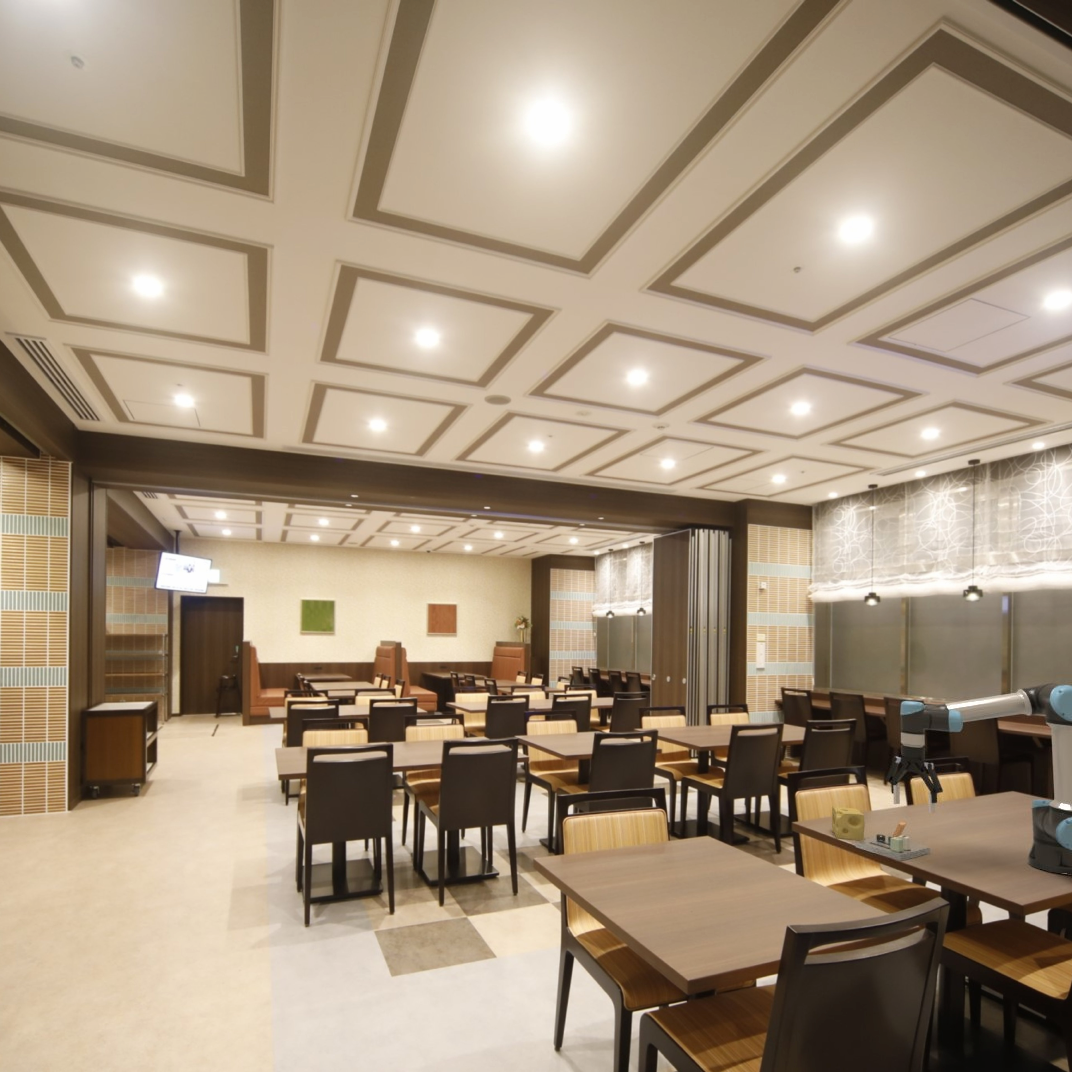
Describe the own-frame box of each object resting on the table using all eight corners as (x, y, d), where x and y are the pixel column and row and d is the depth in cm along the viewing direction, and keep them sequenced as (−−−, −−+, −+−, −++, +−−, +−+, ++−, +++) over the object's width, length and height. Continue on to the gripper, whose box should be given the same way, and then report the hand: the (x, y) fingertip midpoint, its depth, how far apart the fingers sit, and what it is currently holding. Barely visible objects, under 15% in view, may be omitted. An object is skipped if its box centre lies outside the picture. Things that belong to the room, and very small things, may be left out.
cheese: (835, 838, 269) (835, 811, 271) (831, 830, 280) (830, 805, 281) (864, 841, 267) (864, 814, 268) (858, 834, 277) (858, 808, 279)
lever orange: (898, 841, 262) (906, 824, 261) (894, 842, 261) (901, 825, 259) (894, 839, 264) (902, 821, 262) (890, 840, 262) (898, 822, 260)
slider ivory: (910, 849, 253) (910, 836, 253) (906, 850, 251) (905, 837, 252) (902, 846, 255) (902, 834, 256) (898, 847, 254) (897, 835, 254)
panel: (929, 853, 256) (929, 842, 257) (900, 861, 245) (900, 849, 246) (884, 840, 270) (884, 829, 271) (855, 847, 259) (855, 836, 260)
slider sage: (903, 850, 250) (903, 838, 251) (898, 852, 248) (898, 839, 249) (895, 848, 252) (894, 836, 253) (890, 849, 251) (890, 837, 251)
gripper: (953, 750, 242) (954, 815, 239) (886, 739, 262) (886, 798, 259) (942, 751, 238) (943, 817, 235) (874, 740, 258) (875, 800, 255)
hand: (913, 808), depth 247 cm, fingers open, 12 cm apart
